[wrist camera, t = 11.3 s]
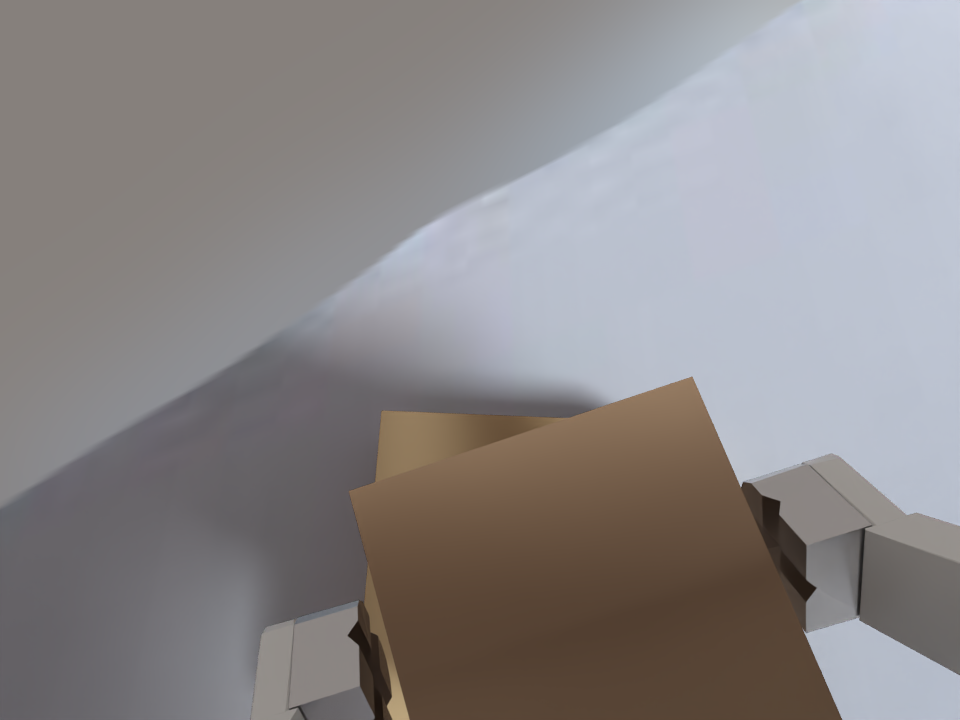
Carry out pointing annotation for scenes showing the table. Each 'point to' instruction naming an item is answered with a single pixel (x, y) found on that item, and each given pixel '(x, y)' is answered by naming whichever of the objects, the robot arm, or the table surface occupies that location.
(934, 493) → the table surface
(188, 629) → the table surface
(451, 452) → the oak base
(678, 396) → the walnut block
